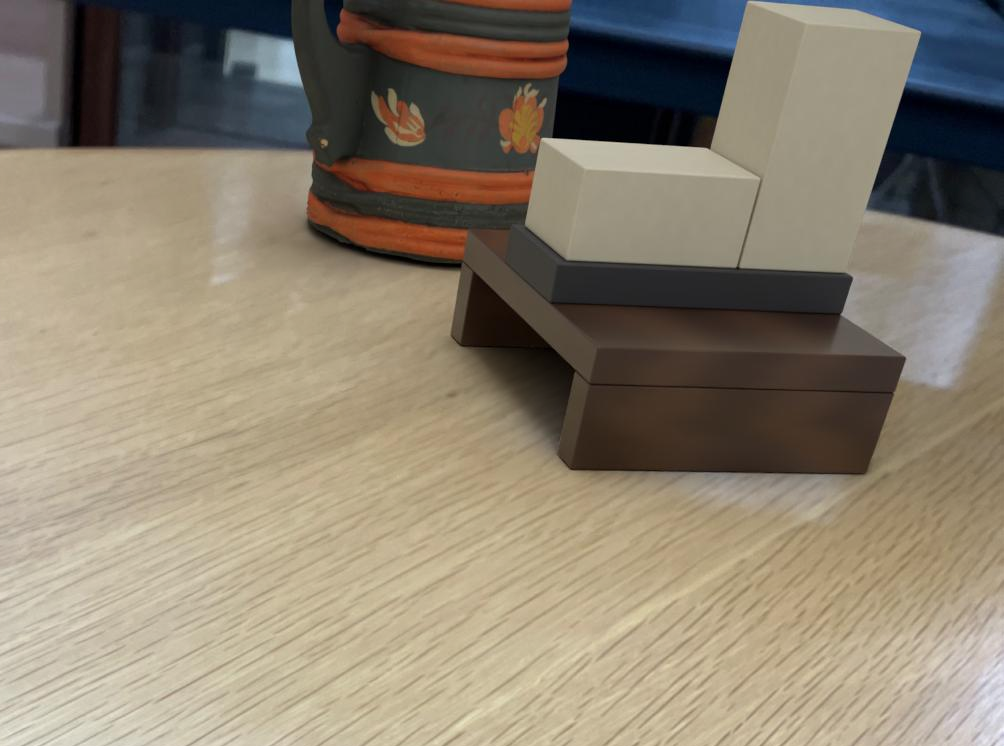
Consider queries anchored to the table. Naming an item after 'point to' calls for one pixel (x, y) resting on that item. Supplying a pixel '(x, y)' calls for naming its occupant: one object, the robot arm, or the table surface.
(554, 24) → the beer stein
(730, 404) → the shoe shelf
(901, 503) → the table surface
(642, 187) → the blocky cream boot
